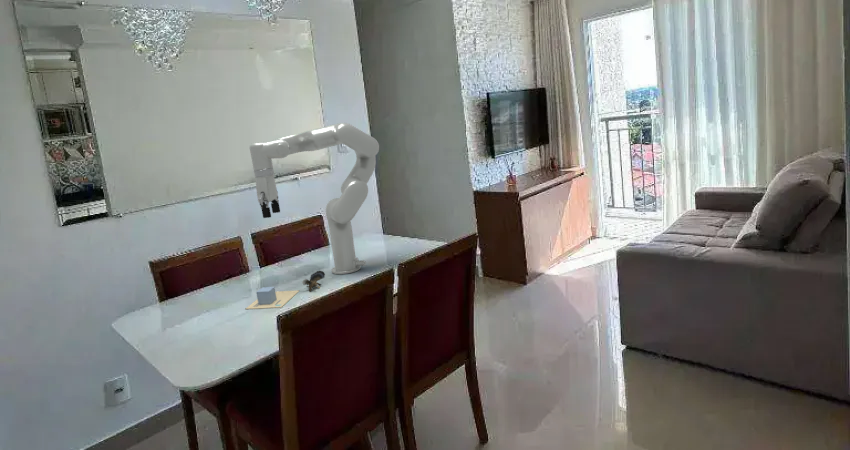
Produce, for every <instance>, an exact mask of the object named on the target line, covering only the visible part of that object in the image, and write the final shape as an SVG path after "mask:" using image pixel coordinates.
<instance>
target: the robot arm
mask: <svg viewBox="0 0 850 450" xmlns="http://www.w3.org/2000/svg"><path fill="white" fill-rule="evenodd" d="M339 145H344V146H346V147H348V148H349V149H351V150H353V151H354V153H355V156H356V161H355V163H354V166H353V167H352V169H351V171H350V172H349V173H348V175H347V176H346V177H345V180H344V181H343V182H342V184H341V186H340V191H341V195H340V196H339V197H338V198H337V197H336V198H335V197H334V198H332V199H330V200H328V203H326V207H325V215H326V216H325V217H326V220H327V225H328V228H329V236H330V237H329V238H330V243H331V249H332V256H333V264H334V267H332V268H331V273H332V274H335V275H346V274H352V273H355V272H357V271H359V270H361V267H363V266H366V265H367V262H366V261H365V260H364V259H362V260H359V258H358V257H357V256H356V249H355V240H354V236H353V235H354V233H353V227H352V222H351V221H352V220H353V219H354V218H355V216H356V215H357V213H358V212H359V211H360V209H361V207H362V206H363V204H364V202H365V201H366V199H367V197H368V194H369V186H368V183H369V180H370V179H371V177H372V175H373V173H374V172H375V169H376V165H377V162H376V160H377V159H376V155H378V153H379V151H380V144H379V142H378V141H377V139H376V138H375V137H373V136H372V135H370V134H368V133H366V132H365V131H363V130H361V129H359V128H357V127H356V126H354V125H352V124H350V123H347V122H339V123H335V124H332V125H331V124H330V125H326V126H322V127H318V128H314V129H309V130H306V131H304V132H300V133H297V134H293V135H289V136H285V137H279V138H275V139H273V140H271V141H268V142H267V141H261V142H253V143H251V144H250V145H249V151H250V157H251V163H252V169H253V173H254V179H255V191H256V196H257V201H258V203H259V206H260V209H261V212H262V213H261V214H262V218H263V219H266V218H267V219H268V218H269V219H270V218H272V214H276V213H277V214H278V213H281V208H280V203H279V192H278V188H277V185H276V180H275V177H274V176H275V173H274V172H275V170H274V166H273V161H272V160H273V159H284V158H287V157H288V156H290V155H293V154H296V153H297V154H298V153H303V152H316V151H319V150H323V149H327V148H332V147H335V146H339ZM269 204H270V205H271V206H270V205H269ZM269 206H270V207H271V208H270V207H269ZM271 212H272V214H271Z"/></svg>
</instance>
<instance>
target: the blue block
mask: <svg viewBox="0 0 850 450" xmlns="http://www.w3.org/2000/svg"><path fill="white" fill-rule="evenodd" d="M276 292H277V291H276V288H275V286H264V287H263V286H262V287H261V288H259V289H258V290H257V291H256V292H255V293H256V300H257V299H258V305H262V304H272V303H273V302H274V301H275V300H277V298H276Z"/></svg>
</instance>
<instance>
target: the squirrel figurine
mask: <svg viewBox="0 0 850 450" xmlns="http://www.w3.org/2000/svg"><path fill="white" fill-rule="evenodd" d="M325 276H326V274H325V272H324V271H322V270H317V271H315V272H313V273H312V274H310V278H309V279H307V278H305V279H303V280H302V281H301V283H302V285H303V286H305V285H307V286H305V287H306V288H309V291H308V292H311V291H312V290H313V287H316V288H319V289H321V286H320V283H318V281H320V280H322V279H324V278H325Z"/></svg>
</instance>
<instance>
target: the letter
mask: <svg viewBox="0 0 850 450" xmlns="http://www.w3.org/2000/svg"><path fill="white" fill-rule="evenodd" d="M275 292H276V298H277V300H275V301H274V302H273V303H272V304H262V305H258V299H257V298H256V299H255V301H253V302H252V303H251V304H249V305H248V306H247V307H246V308H245V310H258V309H280V308H283V307H284V306H285V305H286V304H287V303H288V302H290V301H291V300H292V298H293V297H295V296H296V295H297V294H298V293H299V292H300V290H298V289H297V290H283V291H281V290H280V291H278V290H277V291H275Z"/></svg>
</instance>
